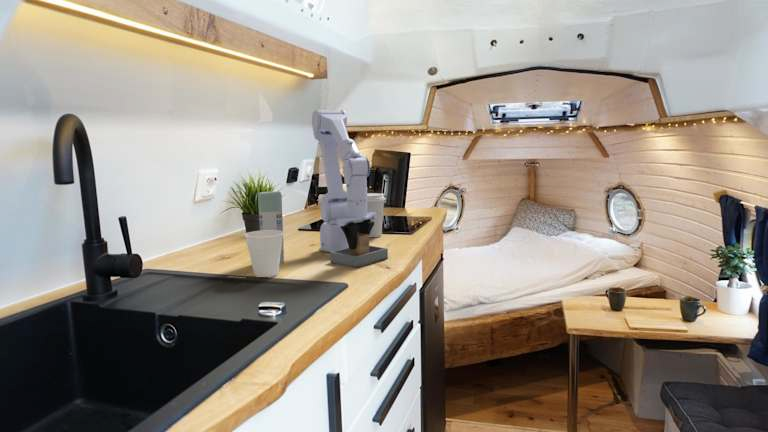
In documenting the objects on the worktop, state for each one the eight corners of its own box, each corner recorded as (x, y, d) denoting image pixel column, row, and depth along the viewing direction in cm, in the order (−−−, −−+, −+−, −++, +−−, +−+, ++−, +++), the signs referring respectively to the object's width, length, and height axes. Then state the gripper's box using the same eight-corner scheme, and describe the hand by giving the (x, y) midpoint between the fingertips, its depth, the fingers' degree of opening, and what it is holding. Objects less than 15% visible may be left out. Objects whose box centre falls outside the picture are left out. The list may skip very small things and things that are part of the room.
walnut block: (349, 255, 145) (349, 234, 144) (359, 253, 148) (358, 232, 148) (359, 257, 143) (359, 236, 142) (369, 254, 146) (369, 234, 145)
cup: (292, 271, 136) (290, 230, 134) (273, 281, 126) (270, 238, 125) (260, 269, 139) (258, 229, 137) (238, 278, 130) (236, 236, 128)
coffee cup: (356, 238, 179) (355, 195, 177) (362, 233, 188) (361, 192, 186) (383, 238, 178) (382, 195, 175) (387, 233, 187) (387, 192, 185)
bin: (330, 262, 145) (330, 252, 144) (361, 253, 155) (361, 244, 154) (357, 267, 138) (356, 257, 138) (387, 258, 148) (387, 248, 148)
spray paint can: (282, 264, 143) (279, 193, 140) (259, 265, 143) (255, 194, 140) (285, 259, 150) (282, 191, 147) (263, 259, 150) (260, 191, 146)
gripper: (349, 204, 136) (350, 253, 138) (384, 198, 147) (385, 244, 149) (330, 202, 140) (332, 250, 142) (365, 196, 151) (366, 241, 153)
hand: (358, 247), depth 146 cm, fingers closed on walnut block, 4 cm apart
